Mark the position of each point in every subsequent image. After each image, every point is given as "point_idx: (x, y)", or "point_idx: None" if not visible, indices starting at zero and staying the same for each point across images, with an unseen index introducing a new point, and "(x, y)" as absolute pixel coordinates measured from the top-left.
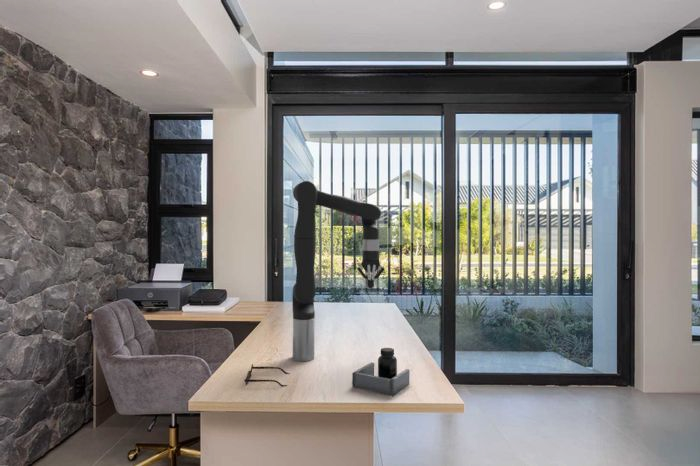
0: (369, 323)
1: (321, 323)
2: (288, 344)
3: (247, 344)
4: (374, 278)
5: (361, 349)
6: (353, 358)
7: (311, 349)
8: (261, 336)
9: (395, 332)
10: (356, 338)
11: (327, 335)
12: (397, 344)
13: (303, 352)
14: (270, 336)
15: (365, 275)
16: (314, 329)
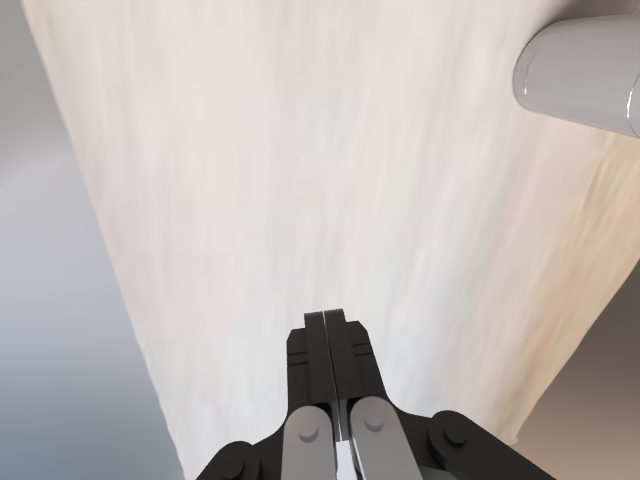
0: (270, 432)
1: None
2: (540, 240)
3: None
4: (278, 444)
5: (321, 183)
6: (368, 56)
7: (566, 34)
8: (581, 311)
9: (194, 366)
10: (322, 305)
11: (404, 328)
12: (185, 244)
13: (598, 16)
14: (559, 312)
15: (468, 474)
16: (614, 73)
